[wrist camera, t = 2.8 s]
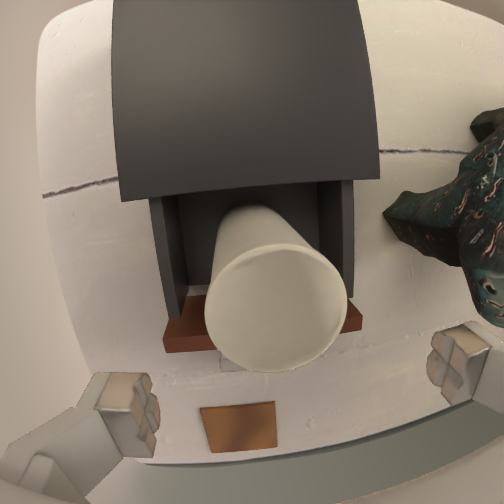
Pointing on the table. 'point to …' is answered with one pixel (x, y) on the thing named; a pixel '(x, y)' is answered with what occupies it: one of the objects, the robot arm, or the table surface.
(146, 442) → the robot arm
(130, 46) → the cabinet
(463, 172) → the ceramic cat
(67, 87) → the table surface
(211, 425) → the coaster
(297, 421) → the table surface
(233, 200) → the drawer
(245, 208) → the container
